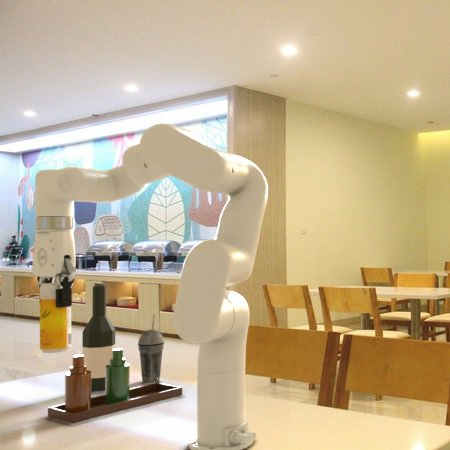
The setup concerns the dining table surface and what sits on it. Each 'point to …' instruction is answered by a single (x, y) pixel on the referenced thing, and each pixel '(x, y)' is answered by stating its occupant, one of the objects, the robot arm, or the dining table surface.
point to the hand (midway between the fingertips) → (55, 305)
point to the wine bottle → (98, 339)
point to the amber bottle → (78, 386)
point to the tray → (136, 398)
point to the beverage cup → (151, 354)
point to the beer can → (53, 321)
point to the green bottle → (117, 378)
